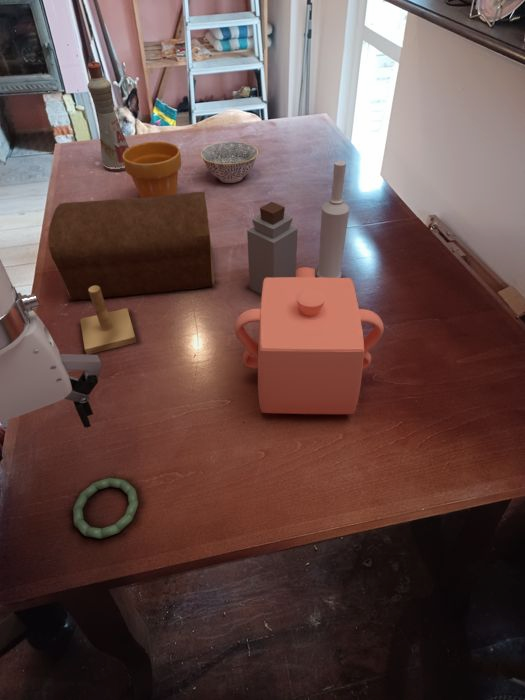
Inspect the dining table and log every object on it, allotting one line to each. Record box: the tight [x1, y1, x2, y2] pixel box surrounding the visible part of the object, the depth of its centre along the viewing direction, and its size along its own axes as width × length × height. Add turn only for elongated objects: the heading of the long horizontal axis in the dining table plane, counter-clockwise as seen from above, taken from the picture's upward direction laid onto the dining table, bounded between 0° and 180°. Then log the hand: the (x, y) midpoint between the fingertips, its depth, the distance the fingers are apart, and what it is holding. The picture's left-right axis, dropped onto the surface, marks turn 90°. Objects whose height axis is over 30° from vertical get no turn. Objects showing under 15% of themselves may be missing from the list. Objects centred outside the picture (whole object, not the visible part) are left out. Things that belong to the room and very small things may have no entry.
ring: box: [72, 477, 139, 540], centre depth 64 cm, size 8×8×1 cm
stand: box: [79, 286, 137, 355], centre depth 86 cm, size 9×9×10 cm
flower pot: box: [122, 141, 182, 198], centre depth 123 cm, size 14×14×13 cm
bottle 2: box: [316, 160, 351, 278], centre depth 92 cm, size 5×5×25 cm
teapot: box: [234, 266, 385, 415], centre depth 77 cm, size 25×23×18 cm
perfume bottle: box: [246, 201, 298, 296], centre depth 93 cm, size 7×7×18 cm
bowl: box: [199, 141, 259, 184], centre depth 135 cm, size 16×16×8 cm
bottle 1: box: [87, 61, 130, 172], centre depth 135 cm, size 9×9×28 cm
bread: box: [47, 191, 216, 301], centre depth 98 cm, size 18×30×16 cm, turn 98°
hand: (43, 435), depth 55 cm, fingers open, 9 cm apart
